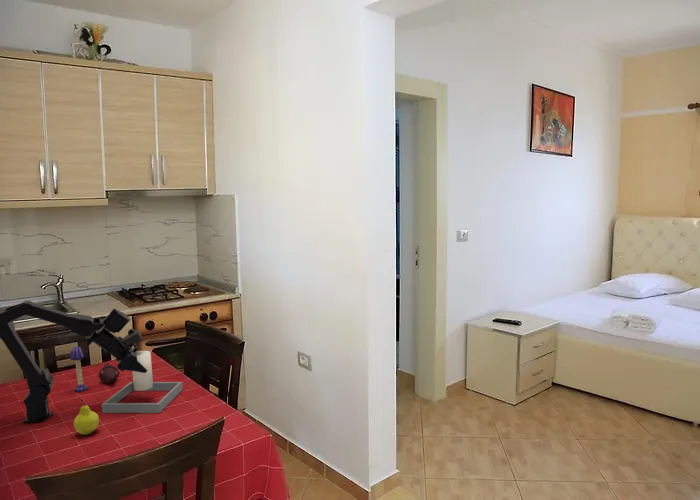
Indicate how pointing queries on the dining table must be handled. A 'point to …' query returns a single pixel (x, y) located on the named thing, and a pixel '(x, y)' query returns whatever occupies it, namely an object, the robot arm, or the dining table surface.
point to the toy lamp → (78, 367)
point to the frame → (115, 407)
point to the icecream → (108, 373)
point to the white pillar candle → (143, 379)
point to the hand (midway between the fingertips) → (146, 368)
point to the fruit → (86, 420)
